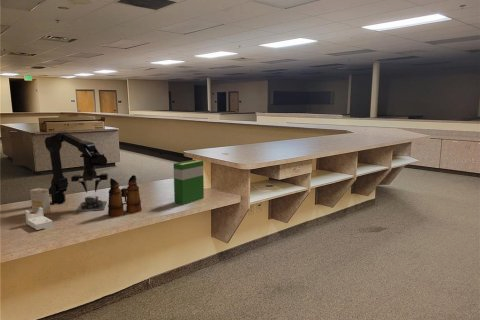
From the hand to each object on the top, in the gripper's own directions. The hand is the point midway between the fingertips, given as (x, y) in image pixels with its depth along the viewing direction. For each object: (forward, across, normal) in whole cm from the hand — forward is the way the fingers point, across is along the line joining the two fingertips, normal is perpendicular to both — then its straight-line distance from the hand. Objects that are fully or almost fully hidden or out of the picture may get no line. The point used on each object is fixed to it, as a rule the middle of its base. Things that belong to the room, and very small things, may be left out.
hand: (91, 192), depth 192 cm
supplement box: (+9, -25, -4) cm, 27 cm away
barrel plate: (+9, 0, 0) cm, 9 cm away
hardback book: (+9, +56, +1) cm, 56 cm away
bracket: (+10, -20, -26) cm, 34 cm away
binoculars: (+9, +19, -14) cm, 25 cm away
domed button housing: (+8, 0, 0) cm, 8 cm away
